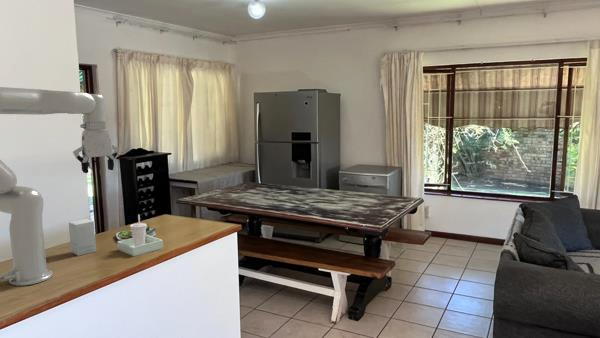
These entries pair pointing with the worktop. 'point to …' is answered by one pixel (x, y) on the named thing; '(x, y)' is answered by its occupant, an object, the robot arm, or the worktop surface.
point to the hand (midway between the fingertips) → (98, 171)
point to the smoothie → (138, 232)
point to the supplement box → (82, 237)
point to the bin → (149, 246)
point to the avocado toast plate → (129, 233)
